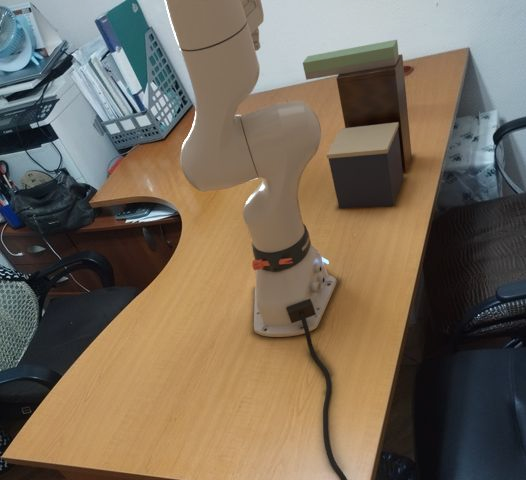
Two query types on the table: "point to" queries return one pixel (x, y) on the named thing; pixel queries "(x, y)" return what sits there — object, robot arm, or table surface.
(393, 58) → the green box
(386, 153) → the archive box
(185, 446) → the table surface
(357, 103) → the shelf
